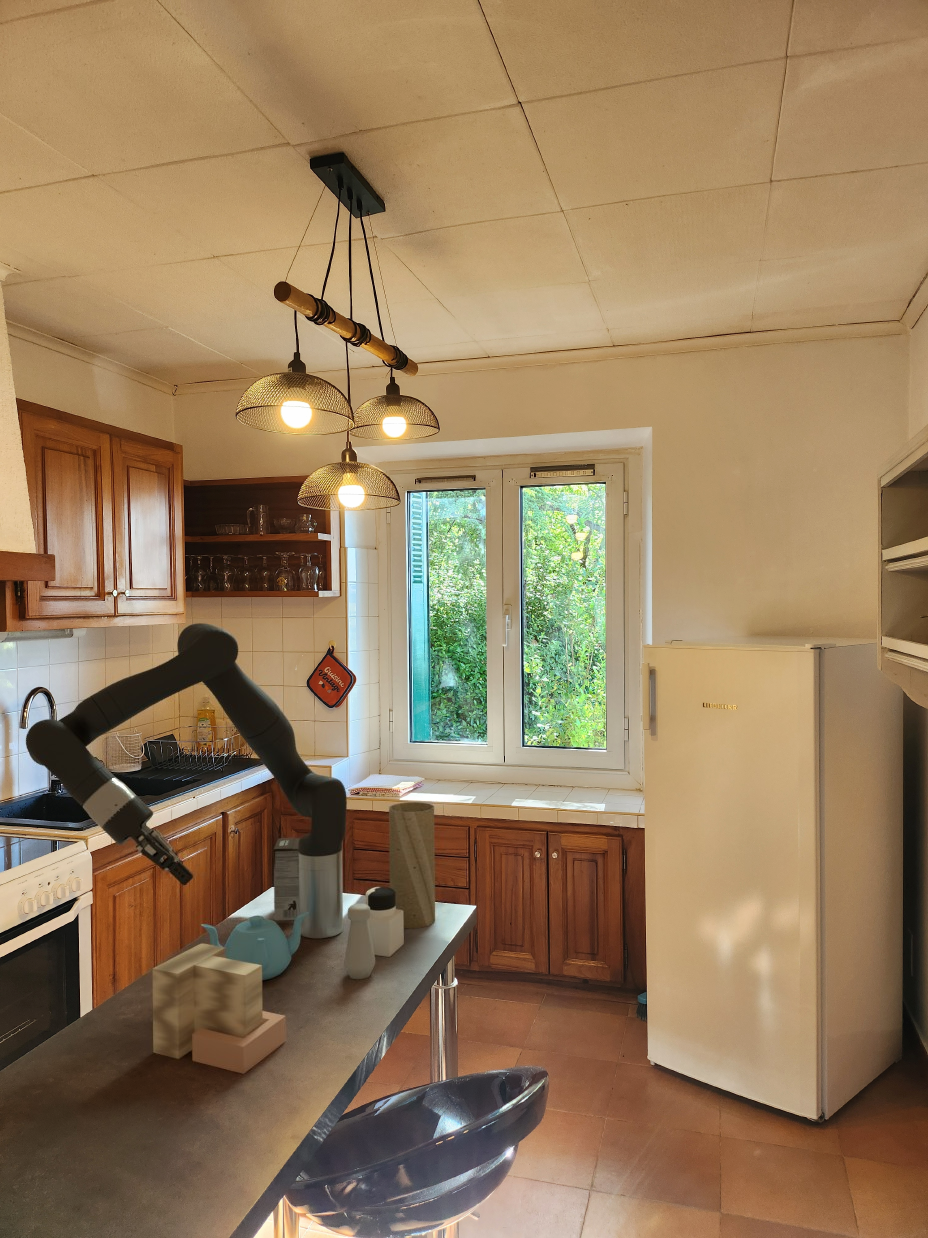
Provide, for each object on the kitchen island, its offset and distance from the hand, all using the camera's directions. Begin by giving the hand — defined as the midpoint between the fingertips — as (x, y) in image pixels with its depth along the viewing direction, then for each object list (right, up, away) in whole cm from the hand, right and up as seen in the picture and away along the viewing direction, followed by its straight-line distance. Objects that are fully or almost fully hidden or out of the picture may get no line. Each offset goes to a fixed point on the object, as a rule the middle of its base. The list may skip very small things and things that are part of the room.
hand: (189, 881), depth 146 cm
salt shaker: (+28, -22, +12) cm, 37 cm away
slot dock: (+12, -22, -15) cm, 29 cm away
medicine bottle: (+31, -22, +25) cm, 45 cm away
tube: (+36, -22, +41) cm, 59 cm away
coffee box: (+8, -22, +46) cm, 52 cm away
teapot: (+8, -22, +14) cm, 27 cm away
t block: (+8, -22, -13) cm, 27 cm away
